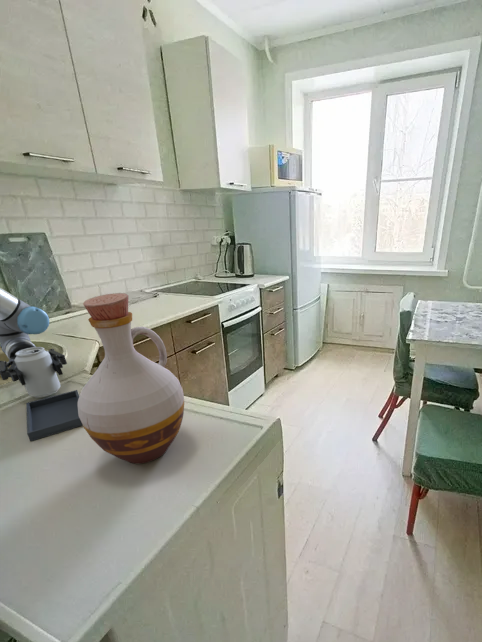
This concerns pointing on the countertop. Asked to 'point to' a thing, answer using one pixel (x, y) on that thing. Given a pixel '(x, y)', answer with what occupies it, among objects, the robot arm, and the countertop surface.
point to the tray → (52, 415)
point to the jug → (129, 388)
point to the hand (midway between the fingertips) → (41, 374)
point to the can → (37, 371)
